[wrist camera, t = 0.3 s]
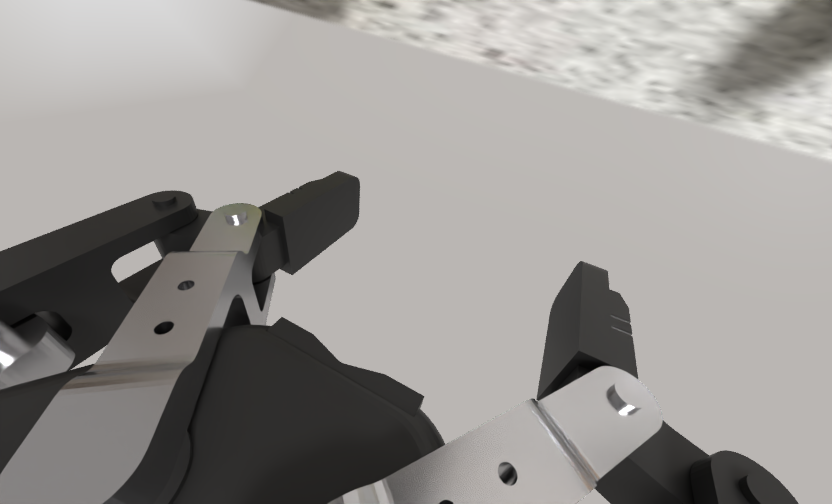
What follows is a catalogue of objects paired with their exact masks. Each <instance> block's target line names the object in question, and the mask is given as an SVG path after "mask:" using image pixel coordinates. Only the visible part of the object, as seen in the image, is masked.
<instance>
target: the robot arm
mask: <svg viewBox="0 0 832 504" xmlns="http://www.w3.org/2000/svg"><path fill="white" fill-rule="evenodd" d="M359 196H360V182H359V179H358V178H357V177H355V176H352V175H349V174H347V173H344V172H341V171H337V172H335V173H333V174H331V175H329V176H327V177H325V178H323V179H320V180H315V181H311V182H308V183H306V184H304V185H302V186H300V187H299V189H298V188H296V189H294V190H292V191H291V192H290V193H286V194H284V195H282V196H280V197H278V198H276V199H274V200H272V201H270V202H268V203H266V204H264V205H262V206H260V207H256V206H254V205H251V204H244V203H239V204H238V203H237V204H229V205H226V206H223V207H220V208H218V209H216V210H215V211H213V212H211V211H206V210H200V209H196V206H195V203H194V201H193V198H192V196H191V195H190V194H188V193H186V192H182V191H162V192H157V193H153V194H150V195H147V196H145V197H142V198H139V199H137V200H134V201H131V202H129V203H126V204H124V205H121V206H118V207H116V208H113V209H110V210H108V211H105V212H103V213H100V214H97V215H95V216H92V217H90V218H87V219H84V220H82V221H79V222H76V223H74V224H72V225H69V226H66V227H63V228H61V229H58V230H55V231H53V232H50V233H47V234H45V235H42V236H40V237H37V238H34V239H32V240H29V241H27V242H24V243H21V244H19V245H16V246H13V247H11V248H8V249H6V250H3V251H0V504H577V503H578V502H579V501H580V500H581V499H582V498H584V497H585V496H586V495H587V494H589V493H590V492H591V491H592V490H593V489H594V488H595V489H596V490H597V491H598V492H599V493H600V494H601V495H602V496H603V497H604V498H605V499H606V500H607V501H609V502H610V503H611V504H798V502H797V501H796V500H795V498H794V497H793V496H792V495H791V493H790V492H789V491H788V490H787V489H786V488H785V487H784V486H783V484H782V483H781V482H780V481H779V480H778V479H776V478H775V477H774V476H773V475H772V474H771V473H770V472H768V471H767V470H766V469H765V468H763V467H762V466H760V465H759V464H757V463H756V462H755V461H753V460H751V459H749V458H748V457H746V456H743V455H741V454H739V453H736V452H732V451H720V452H717V453H715V454H713V455H710V456H709V455H708V454H706V453H705V452H703V451H702V450H701V449H699V448H698V447H697V446H695V445H694V444H692V443H691V442H690V441H689V440H687V439H686V438H684V437H683V436H682V435H680V434H679V433H678V432H676V431H675V430H674V429H672V428H671V427H670V426H669V425H667V424H666V423H665V422H664V421H663V417H662V412H661V409H660V406H659V404H658V402H657V401H656V399H655V397H654V396H653V394H652V393H651V392H650V391H649V389H648V388H646V386H645V385H644V384H643V383H641V382H640V381H639V380H638V374H637V367H636V359H635V352H634V344H633V338H632V336H631V335H632V329H631V325H630V314H629V308H628V306H627V305H626V303H625V301H624V300H623V298H622V297H621V295H620V294H619V293H618V292H615V291H612V290H609V281H608V271H606V270H604V269H601V268H599V267H596V266H593V265H591V264H588V263H585V262H582V261H580V262H579V263H578V264H577V266H576V267H575V268H574V270H573V272H572V273H571V275H570V276H569V278H568V279H567V281H566V282H565V284H564V286H563V287H562V289H561V290H560V292H559V293H558V295H557V297H556V298H555V301H554V303H553V305H552V308H551V312H550V317H549V324H548V330H547V336H546V343H545V349H544V356H543V362H542V368H541V375H540V381H539V388H538V394H537V400H538V401H537V402H536V401H535V399H529V400H527V401H525V402H522V403H521V404H519V405H517V406H515V407H513V408H512V409H510V410H508V411H506V412H504V413H503V414H500V415H499V416H497V417H495V418H493V419H491V420H490V421H488V422H486V423H484V424H482V425H481V426H479V427H477V428H475V429H473V430H472V431H470V432H468V433H466V434H464V435H462V436H460V437H459V438H457V439H455V440H453V441H451V442H450V443H448V444H446V445H445V443H444V441H443V439H442V437H441V435H440V434H439V432H438V430H437V429H436V427H435V426H434V424H433V423H432V422H431V420H430V419H429V418H428V417H427V416H426V415H425V413H424V412H423V411H422V410H420V407H421V404H422V401H423V398H424V396H423V395H421V394H419V393H417V392H415V391H414V390H412V389H410V388H408V387H406V386H405V385H403V384H401V383H399V382H397V381H396V380H394V379H392V378H390V377H389V376H387V375H385V374H381V373H377V372H373V371H370V370H366V369H362V368H358V367H354V366H350V365H347V364H343V363H341V362H340V361H338V360H337V359H336V358H335V357H334V355H333V354H332V353H331V352H330V351H328V349H327V348H326V347H325V346H324V345H323V344H322V343H321V342H320V341H319V340H318V339H317V338H316V337H315V336H314V335H313V334H312V333H310V332H308V331H306V330H304V329H303V328H301V327H299V326H297V325H295V324H294V323H292V322H290V321H288V320H286V319H285V318H283V317H281V318H280V319H279V320H278V321H277V322H276V323H275V324H274V325H272V326H266V320H267V315H268V310H269V306H270V301H271V296H272V292H273V288H274V283H275V273H274V272H275V271H277V270H278V269H281V270H283V271H285V272H287V273H289V274H291V275H293V274H294V273H296V272H297V271H298V270H299V269H301V268H302V267H303V266H304V265H306V264H307V263H308V262H309V261H311V260H312V259H313V258H315V257H316V256H317V255H319V254H320V253H321V252H322V251H324V250H325V249H326V248H328V247H329V246H330V245H331V244H333V243H334V242H335V241H337V240H338V239H339V238H340V237H342V236H343V235H344V234H345V233H347V232H348V231H349V230H351V229H352V228H353V227H354V225H355V224H356V222H357V220H358V217H359V198H360V197H359ZM152 241H154V242H155V244H156V247H157V248H158V250H159V252H160V254H161V256H162V259H161V260H159V261H157V262H155V263H153V264H151V265H150V266H148V267H146V268H144V269H142V270H141V271H139V272H137V273H135V274H133V275H132V276H130V277H128V278H126V279H124V280H122V281H121V282H119V283H118V282H117V281H116V279H115V278H114V276H113V275H112V273H111V268H112V265H113V263H114V262H115V261H116V260H117V259H119V258H120V257H122V256H124V255H126V254H128V253H130V252H132V251H134V250H136V249H138V248H140V247H142V246H144V245H146V244H148V243H150V242H152ZM106 345H107V347H106V348H105V350H104V351H103V353H102V354H101V356H100V357H99V359H98V360H97V362H96V363H95V364H92V365H88V366H84V367H81V368H77V369H73V370H71V369H72V368H74V367H75V366H76V365H78V364H79V363H81V362H82V361H84V360H86V359H87V358H88V357H90V356H91V355H93V354H94V353H96V352H97V351H99V350H100V349H102V348H103V347H105V346H106Z"/></svg>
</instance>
